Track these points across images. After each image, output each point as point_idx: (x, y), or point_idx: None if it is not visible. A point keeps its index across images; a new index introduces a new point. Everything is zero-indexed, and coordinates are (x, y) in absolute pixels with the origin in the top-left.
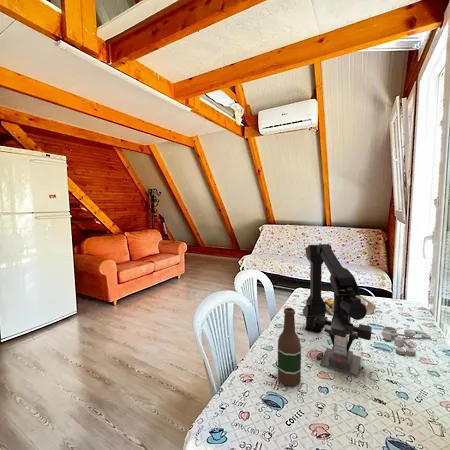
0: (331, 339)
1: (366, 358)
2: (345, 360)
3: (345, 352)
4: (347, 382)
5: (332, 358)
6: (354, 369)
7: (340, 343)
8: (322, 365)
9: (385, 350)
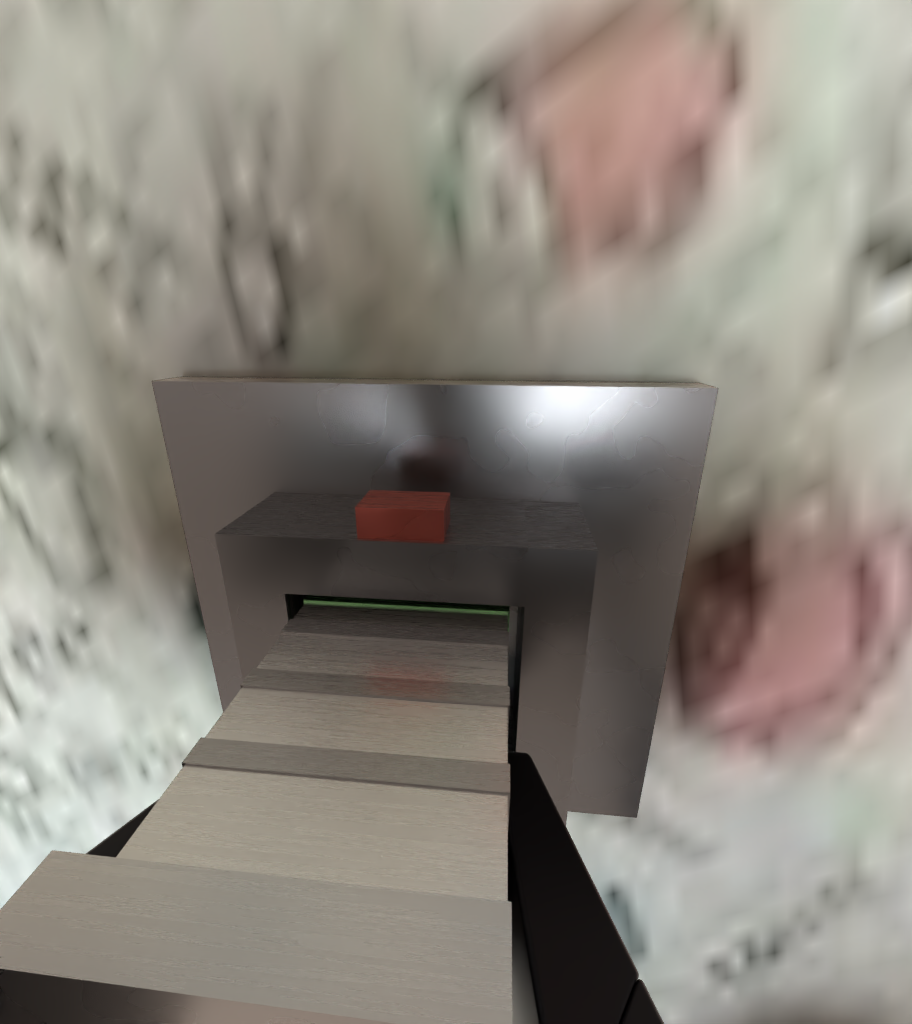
0: (625, 987)
1: None
2: (297, 531)
3: (268, 670)
4: (249, 158)
5: (525, 529)
6: (218, 488)
7: (306, 871)
8: (664, 384)
9: None
